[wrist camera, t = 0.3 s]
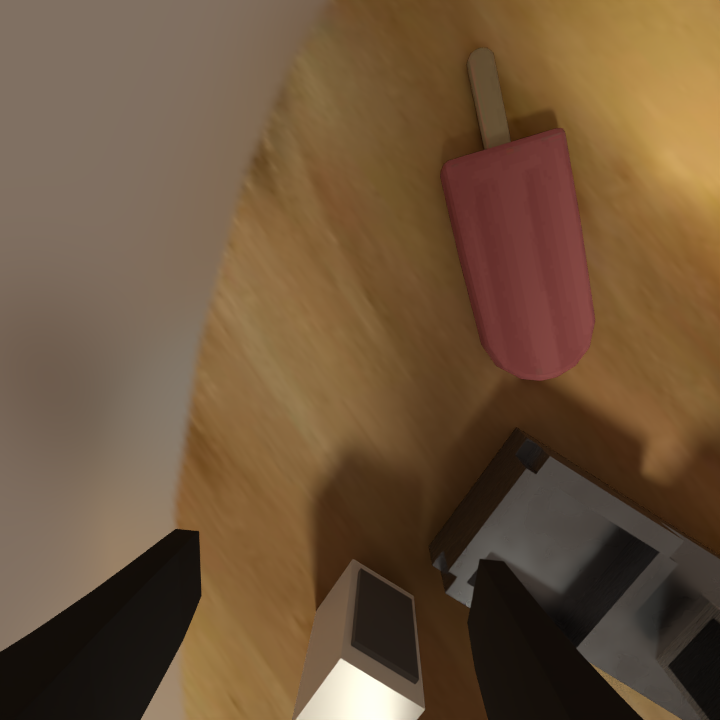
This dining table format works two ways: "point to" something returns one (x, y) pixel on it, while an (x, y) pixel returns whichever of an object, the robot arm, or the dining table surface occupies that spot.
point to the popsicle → (520, 239)
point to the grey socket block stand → (595, 572)
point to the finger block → (362, 653)
